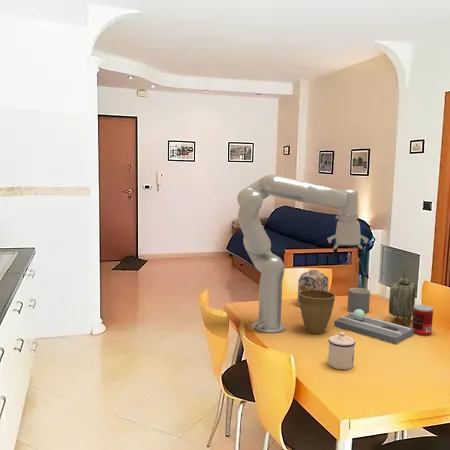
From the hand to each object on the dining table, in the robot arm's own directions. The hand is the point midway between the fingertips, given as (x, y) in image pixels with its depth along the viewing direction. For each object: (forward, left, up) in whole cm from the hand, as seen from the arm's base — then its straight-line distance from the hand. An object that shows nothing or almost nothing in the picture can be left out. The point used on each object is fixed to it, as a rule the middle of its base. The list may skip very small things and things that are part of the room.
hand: (347, 257), depth 206 cm
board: (+1, -13, -30) cm, 32 cm away
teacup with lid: (-39, -22, -30) cm, 54 cm away
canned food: (+14, -28, -30) cm, 43 cm away
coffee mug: (+22, +7, -30) cm, 38 cm away
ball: (+1, -6, -25) cm, 25 cm away
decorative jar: (+11, +25, -30) cm, 41 cm away
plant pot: (-18, +3, -30) cm, 35 cm away
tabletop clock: (+20, -16, -30) cm, 39 cm away
